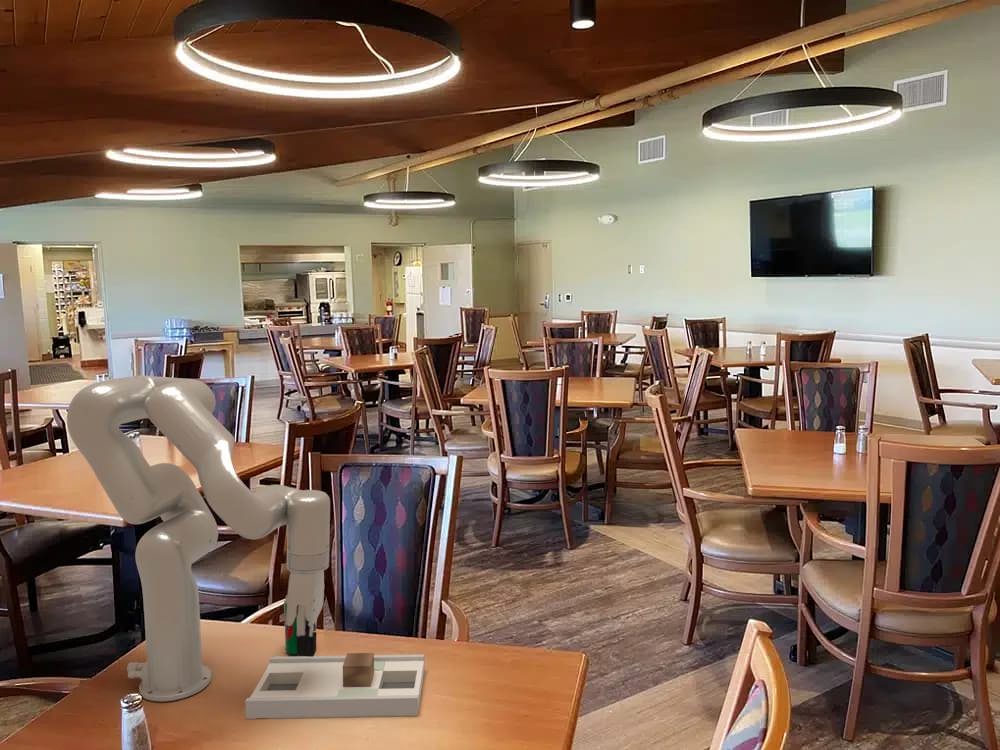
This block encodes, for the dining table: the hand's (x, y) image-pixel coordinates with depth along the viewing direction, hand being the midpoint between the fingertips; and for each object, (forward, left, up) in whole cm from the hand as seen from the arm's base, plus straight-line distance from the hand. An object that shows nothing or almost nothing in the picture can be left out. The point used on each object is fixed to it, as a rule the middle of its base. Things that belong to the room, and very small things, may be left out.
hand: (306, 654), depth 137 cm
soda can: (-6, +17, -8) cm, 19 cm away
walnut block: (+10, 0, -5) cm, 11 cm away
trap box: (+6, 0, -8) cm, 10 cm away
